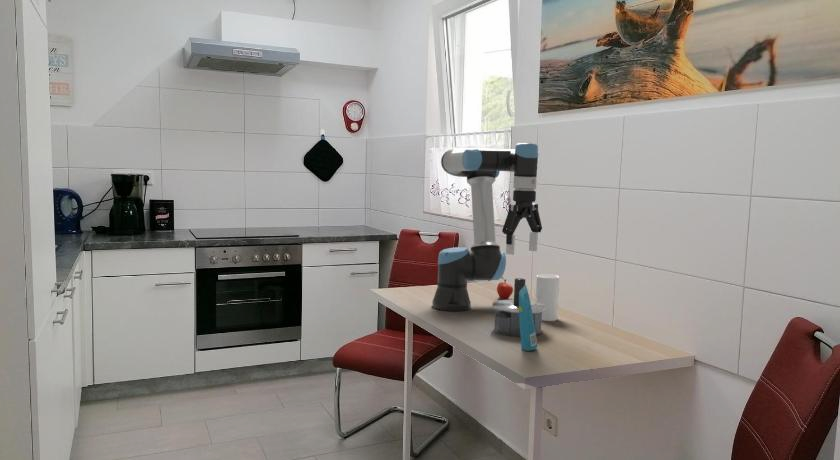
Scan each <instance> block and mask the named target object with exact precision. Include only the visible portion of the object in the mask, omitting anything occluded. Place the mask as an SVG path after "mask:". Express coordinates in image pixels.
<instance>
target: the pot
mask: <svg viewBox="0 0 840 460" xmlns="http://www.w3.org/2000/svg"><path fill="white" fill-rule="evenodd" d="M533 320H534V326H535V333H536V337H538V336H540V335H542V322H543V321H542V312H541V313H534V314H533ZM493 327H494V329H493V330H494V331H495V332H496V333H498V334H500V335H504V336H509V337H516V338H517V337H520V338H521V335H520V320H519V314H518V313H509V312H503V311H499V310H496V309H494V326H493Z"/></svg>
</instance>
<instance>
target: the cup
mask: <svg viewBox="0 0 840 460" xmlns="http://www.w3.org/2000/svg"><path fill="white" fill-rule="evenodd" d="M535 283H536V284H535V302H537V303H540V304H543V305H545V306H546V310H545V311H544V312H542V322H543V321H544V322H556V321H557V320H558V313H559V291H560V276H559V275H556V274H551V273H550V274H549V273H547V274H546V273H545V274H544V273H541V274H536V282H535Z"/></svg>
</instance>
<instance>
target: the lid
mask: <svg viewBox="0 0 840 460" xmlns="http://www.w3.org/2000/svg"><path fill="white" fill-rule="evenodd" d="M524 285H526V279H525V278H523V277H521V278H520V277H516V278H514V287H513V299H500V300H496V301H493V302H492V303H491V304H492V305H491V306H492V308H493V309H494V310H495V309H496V310H499V311H503V312H509V313H518V314H519V292H520V290H521V289H522V288H523V287H524ZM530 303H531V309H532V314H534V313H541V312H544V311H545V310H546V306H545V305H543V304H540V303H537V302H536V301H532V300H530Z"/></svg>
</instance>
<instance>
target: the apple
mask: <svg viewBox="0 0 840 460" xmlns="http://www.w3.org/2000/svg"><path fill="white" fill-rule="evenodd" d="M500 279H502V280H504V282H501V281H500V282H499V283H498V285H497V287H496V293H497V294H498V297H499V298H500V299H501V298H503V299H502V300H508V299H509V298H510V297H511V296H512V294H513V293H514V287H513V286H512V285H511V284H509V283H507V282H506V281H507V279H506V278H504V277H503V276H502V277H501V278H500ZM507 298H508V299H507Z"/></svg>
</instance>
